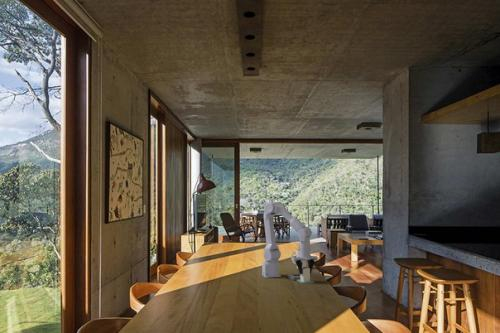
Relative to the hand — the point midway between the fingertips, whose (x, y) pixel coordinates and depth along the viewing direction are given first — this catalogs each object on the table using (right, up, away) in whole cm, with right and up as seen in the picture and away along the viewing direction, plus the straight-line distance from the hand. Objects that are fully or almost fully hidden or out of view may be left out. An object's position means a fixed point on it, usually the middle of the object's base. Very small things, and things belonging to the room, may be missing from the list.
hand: (305, 273), depth 219 cm
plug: (0, -4, 0) cm, 4 cm away
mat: (0, -4, 0) cm, 4 cm away
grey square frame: (-4, -5, +9) cm, 11 cm away
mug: (+1, -7, +36) cm, 37 cm away
